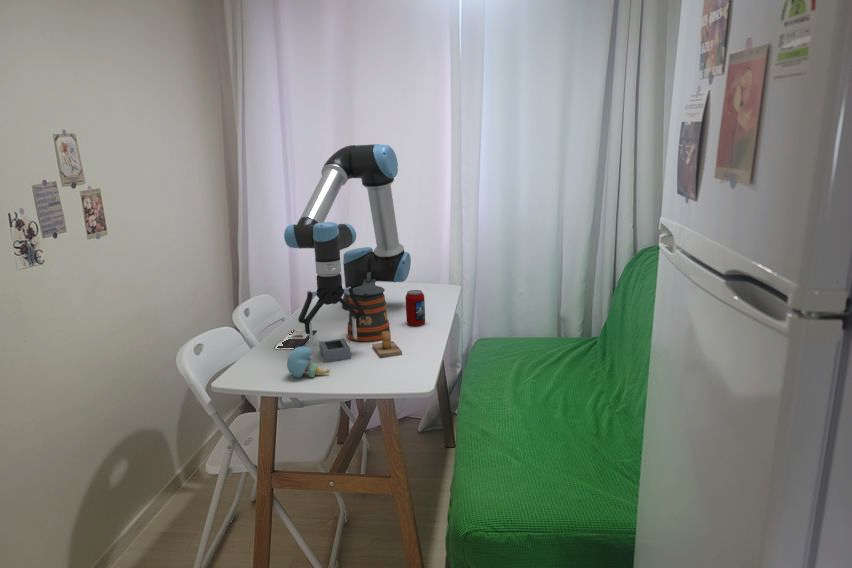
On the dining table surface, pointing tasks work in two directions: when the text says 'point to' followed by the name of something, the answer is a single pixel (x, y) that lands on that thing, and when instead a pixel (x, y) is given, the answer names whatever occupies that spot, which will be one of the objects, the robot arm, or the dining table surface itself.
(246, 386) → the dining table surface
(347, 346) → the grey rectangular frame
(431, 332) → the dining table surface
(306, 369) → the blue haired figurine
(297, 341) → the chocolate bar
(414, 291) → the beverage can
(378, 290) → the beer stein
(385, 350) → the keeper
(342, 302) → the robot arm
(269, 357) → the dining table surface
